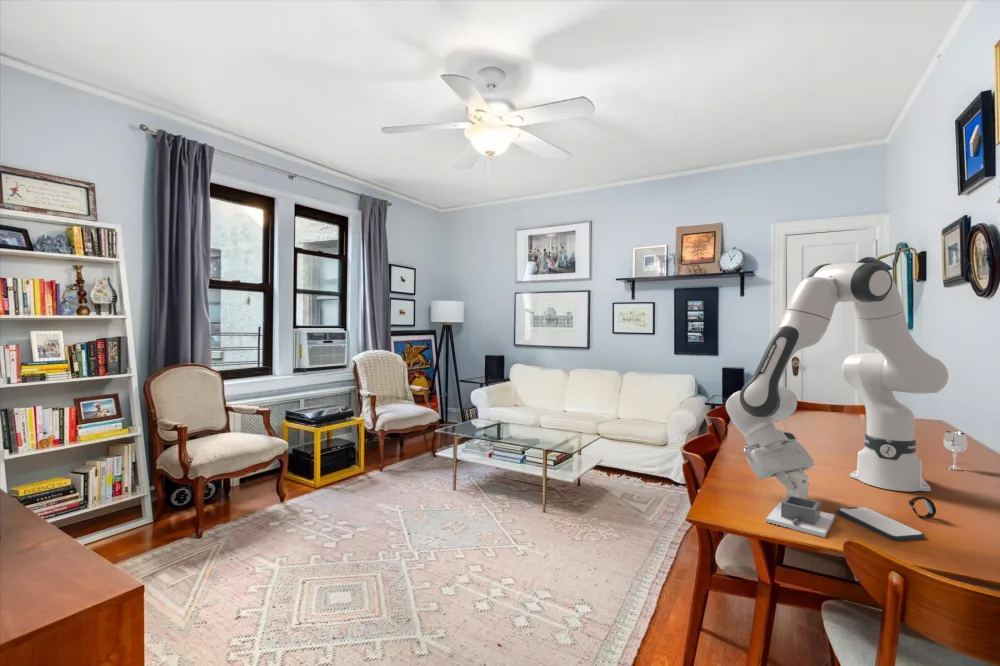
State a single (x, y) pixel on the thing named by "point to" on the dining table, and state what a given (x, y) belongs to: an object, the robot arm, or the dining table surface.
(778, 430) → the robot arm
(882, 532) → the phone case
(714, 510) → the dining table surface
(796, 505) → the dock
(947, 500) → the dining table surface
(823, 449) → the dining table surface
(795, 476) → the block
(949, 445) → the wineglass
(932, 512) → the smartwatch
